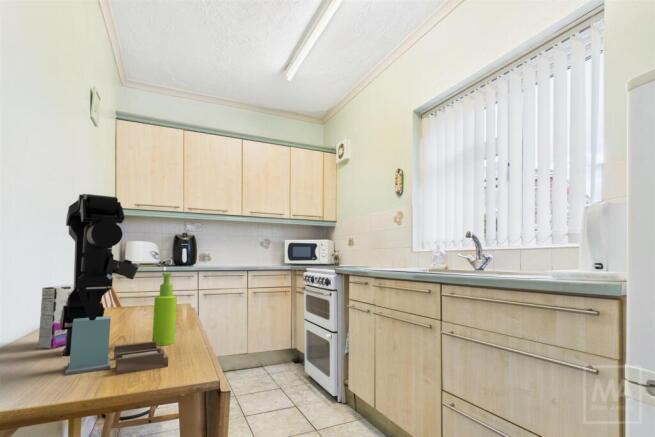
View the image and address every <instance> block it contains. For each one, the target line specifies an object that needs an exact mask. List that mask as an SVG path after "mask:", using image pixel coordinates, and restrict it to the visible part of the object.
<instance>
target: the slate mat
mask: <svg viewBox="0 0 655 437" xmlns="http://www.w3.org/2000/svg"><path fill="white" fill-rule="evenodd" d="M69 364H70V362H67V365H66V369H65V374H64V375H65V376H70V375H78V374H83V373H84V374H85V373H91V372H97V371H99V372H100V371H103V370H104V371H105V370H111V359H110V357H109V356H108V364H104V365H97V366H90V367H83V368H75V369H69Z"/></svg>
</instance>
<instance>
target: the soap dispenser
mask: <svg viewBox="0 0 655 437" xmlns="http://www.w3.org/2000/svg"><path fill="white" fill-rule="evenodd" d="M161 276H163V283H161V284H160V286H159V295H157V296H155V297H154V301H153V302H154V303H153V305H154V306H153V323H152V337H151V338H152V339H151V340H152V341H151V342H153V341H156V345H160V346H161V347H163V346H170V345H174V344H175V342H176V325H177V324H176V322H177V307H178V306H177V302H178V297H177V296H176V295H173V291H174V290H173V289H174V285H173V283H171V276H172V273H171V272H162V274H161Z"/></svg>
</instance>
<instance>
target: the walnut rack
mask: <svg viewBox="0 0 655 437" xmlns="http://www.w3.org/2000/svg"><path fill="white" fill-rule="evenodd" d="M162 347H163V346H160V345H156V341H153V342H152V341H146V342H138V343H137V342H136V343H128V344H127V343H126V344H120V345H119V344H118V345H114V353H113V354H114V355H113V360H115V366H114V367H115V369H116V375H121V374H128V373H134V372H141V371H147V370H154V369H159V368H166V367H169V356H168V354H167V353H166V352H165V350H164V349H163V348H162ZM153 351H157V352H158V353H154V354H147V355H139V356H132V357H124V358H122V355H130V354H138V353H145V352H153Z"/></svg>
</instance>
